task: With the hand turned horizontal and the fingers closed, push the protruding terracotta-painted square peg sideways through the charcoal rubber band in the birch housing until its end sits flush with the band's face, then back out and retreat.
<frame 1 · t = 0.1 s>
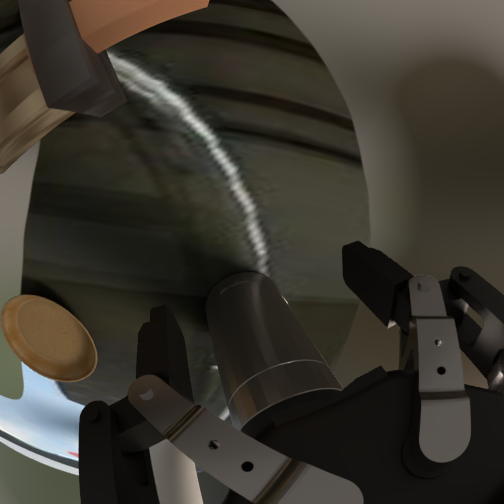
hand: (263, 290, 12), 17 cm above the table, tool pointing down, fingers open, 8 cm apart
peg: (115, 10, 11), point 8 cm above the table, slide at 0.0 cm
alcohol: (167, 438, 43), on the table
plant saucer: (51, 330, 28), on the table
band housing: (93, 61, 18), on the table
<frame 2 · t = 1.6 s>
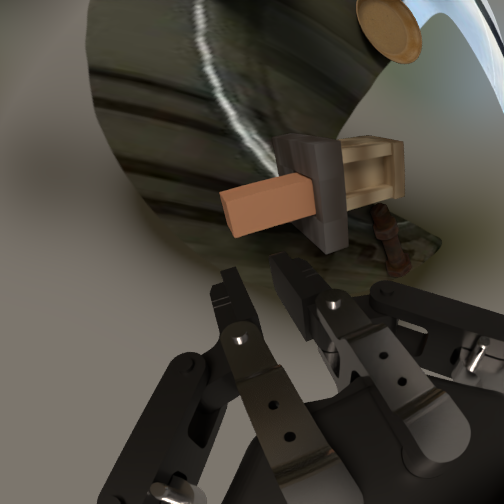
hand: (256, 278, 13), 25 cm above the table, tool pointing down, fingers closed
peg: (283, 198, 30), point 8 cm above the table, slide at 0.0 cm
bolt: (382, 234, 47), on the table
plant saucer: (382, 27, 30), on the table
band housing: (289, 176, 37), on the table
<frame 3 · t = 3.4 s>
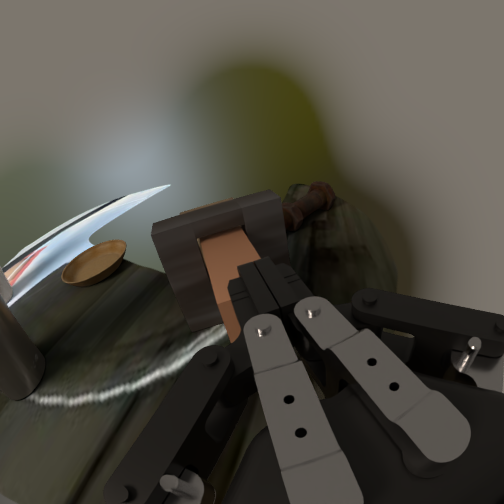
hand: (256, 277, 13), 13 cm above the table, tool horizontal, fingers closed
peg: (232, 269, 24), point 8 cm above the table, slide at 0.0 cm
alcohol: (2, 302, 44), on the table
bolt: (301, 222, 48), on the table
plant saucer: (98, 271, 47), on the table
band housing: (240, 308, 31), on the table
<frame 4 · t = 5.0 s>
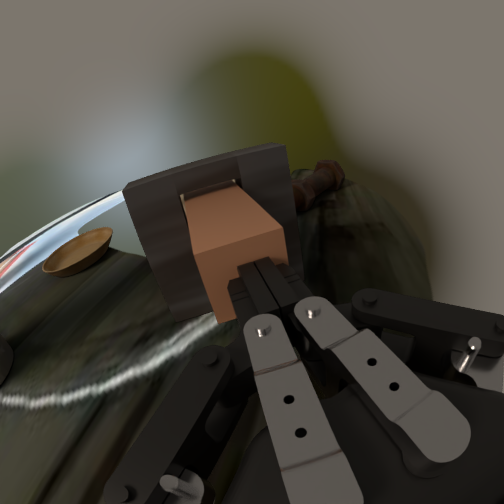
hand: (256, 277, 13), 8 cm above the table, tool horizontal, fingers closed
peg: (223, 229, 18), point 8 cm above the table, slide at 0.5 cm, touching gripper
bolt: (310, 203, 42), on the table
plant saucer: (82, 261, 41), on the table
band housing: (237, 292, 25), on the table
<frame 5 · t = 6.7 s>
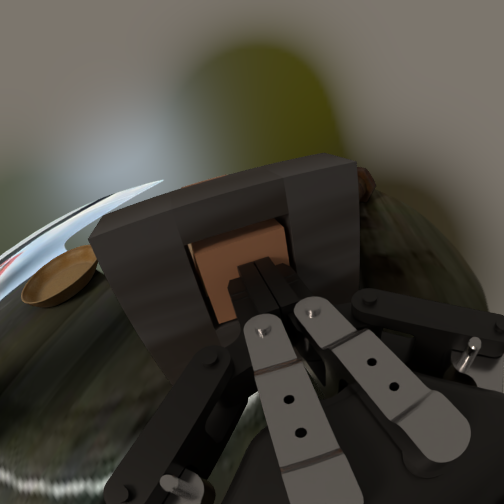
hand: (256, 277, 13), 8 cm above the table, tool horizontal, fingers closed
peg: (222, 228, 18), point 8 cm above the table, slide at 9.1 cm, touching gripper
bolt: (342, 220, 34), on the table
plant saucer: (66, 286, 34), on the table
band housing: (266, 359, 18), on the table
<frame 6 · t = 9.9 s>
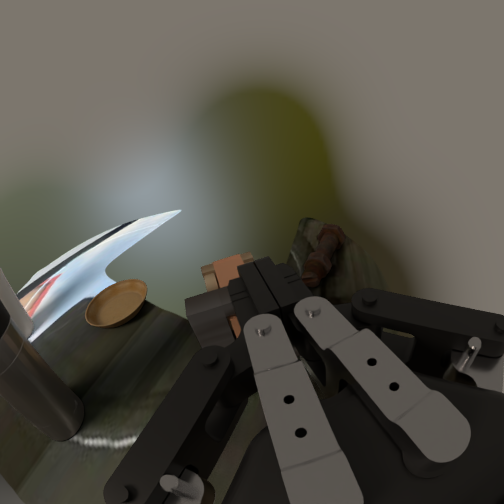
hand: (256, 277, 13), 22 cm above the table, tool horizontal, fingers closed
peg: (239, 294, 35), point 8 cm above the table, slide at 9.0 cm
alcohol: (24, 334, 48), on the table
bolt: (322, 267, 50), on the table
plant saucer: (120, 311, 51), on the table
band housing: (261, 360, 34), on the table
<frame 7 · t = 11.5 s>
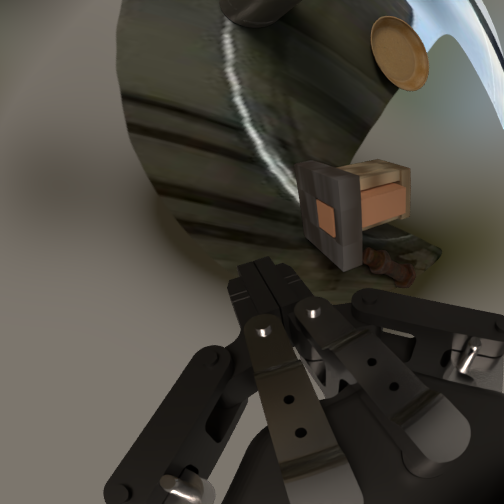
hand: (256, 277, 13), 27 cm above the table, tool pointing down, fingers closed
peg: (364, 206, 36), point 8 cm above the table, slide at 9.0 cm
bolt: (381, 260, 53), on the table
plant saucer: (392, 54, 34), on the table
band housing: (308, 199, 42), on the table
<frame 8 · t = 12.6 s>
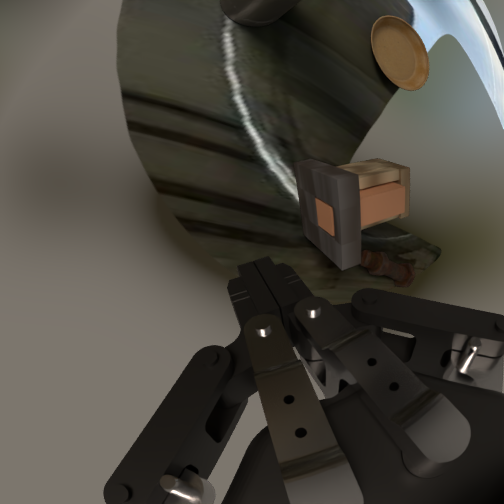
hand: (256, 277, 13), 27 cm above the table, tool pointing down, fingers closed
peg: (363, 205, 36), point 8 cm above the table, slide at 9.0 cm
bolt: (379, 261, 53), on the table
plant saucer: (393, 53, 34), on the table
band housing: (307, 197, 42), on the table
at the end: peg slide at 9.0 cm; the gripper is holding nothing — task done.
